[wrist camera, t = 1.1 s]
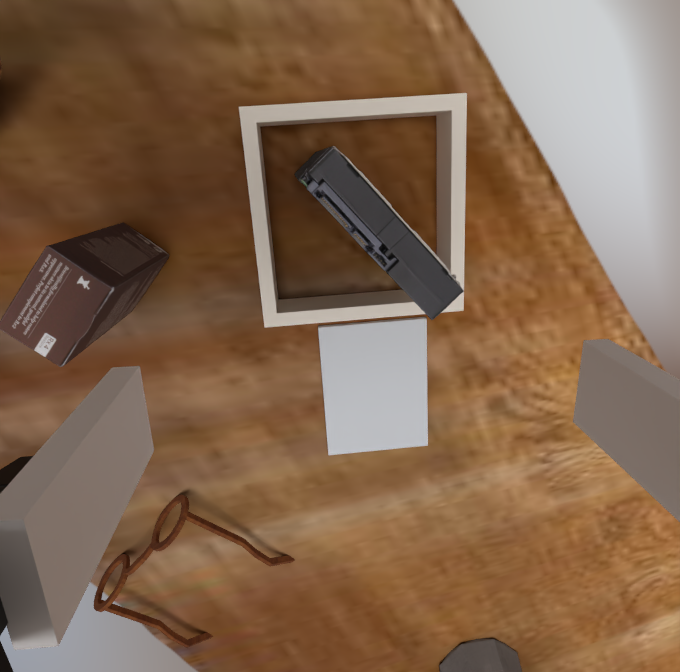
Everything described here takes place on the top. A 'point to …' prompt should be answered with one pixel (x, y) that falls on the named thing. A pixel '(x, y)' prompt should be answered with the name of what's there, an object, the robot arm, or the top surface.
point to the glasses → (155, 545)
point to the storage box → (449, 202)
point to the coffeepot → (481, 657)
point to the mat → (375, 384)
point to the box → (82, 290)
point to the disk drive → (379, 230)
